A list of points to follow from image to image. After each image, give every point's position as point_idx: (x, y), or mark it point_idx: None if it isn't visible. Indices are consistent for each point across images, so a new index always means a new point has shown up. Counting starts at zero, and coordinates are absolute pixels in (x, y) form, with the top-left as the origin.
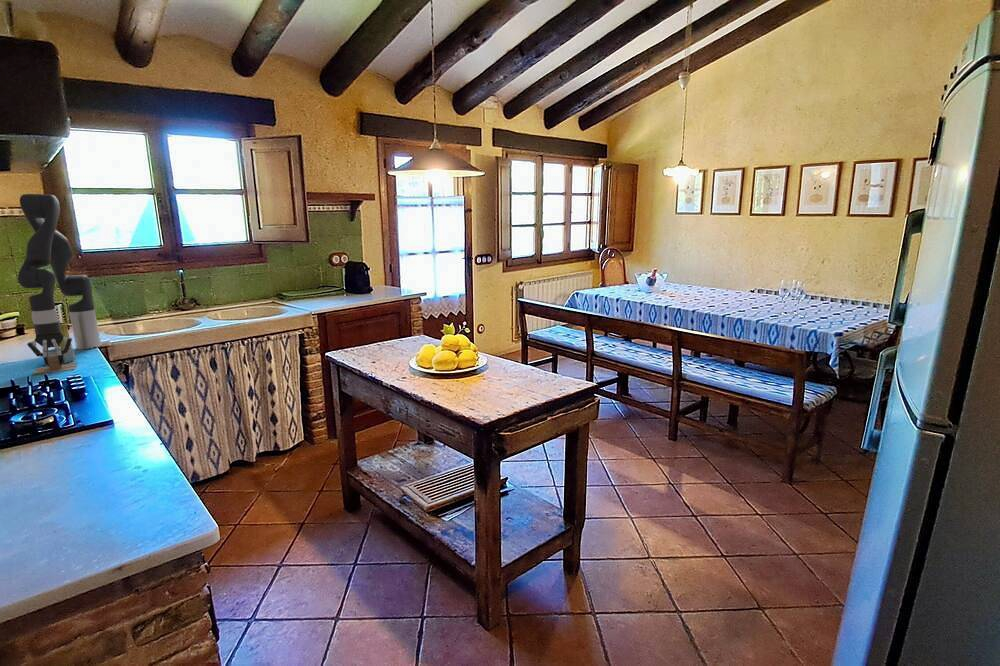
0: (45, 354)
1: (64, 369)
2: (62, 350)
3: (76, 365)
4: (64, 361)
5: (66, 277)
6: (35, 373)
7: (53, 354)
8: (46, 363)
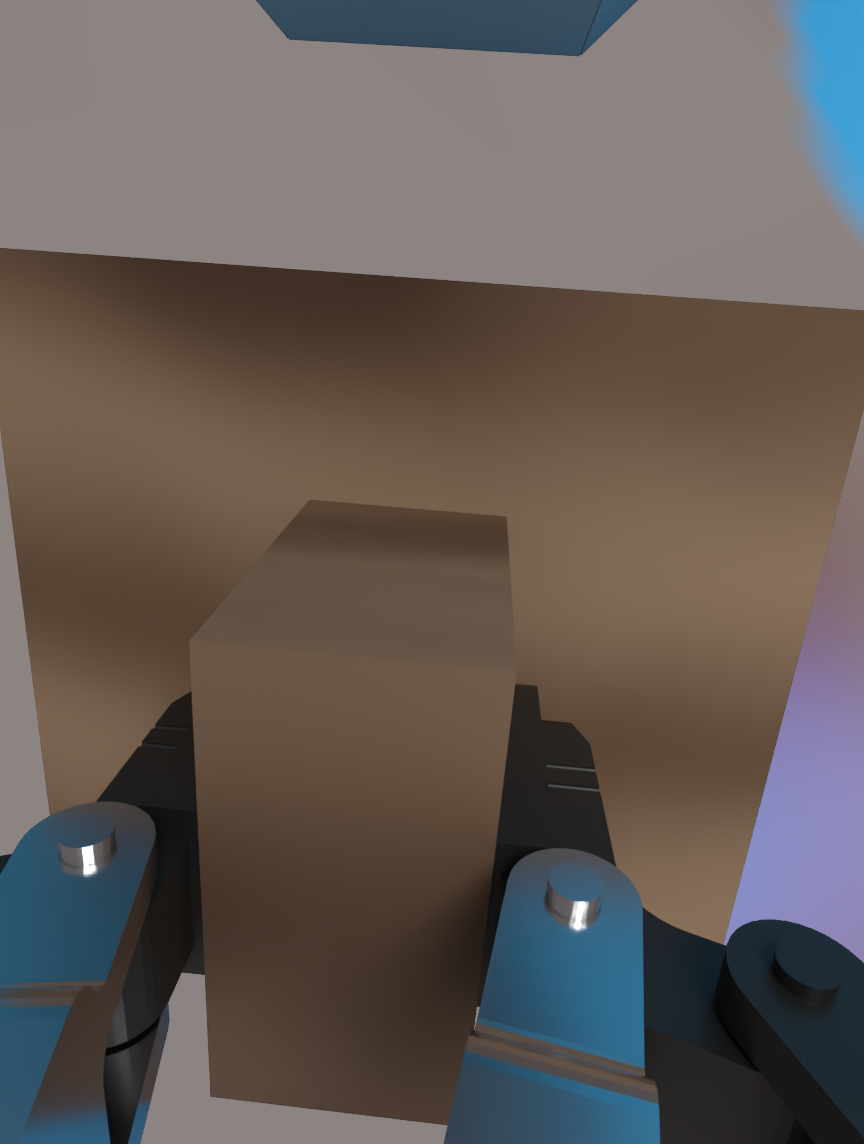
0: (113, 1073)
1: None
2: (665, 1044)
3: (786, 696)
4: (574, 36)
5: None
6: None
7: (313, 650)
8: None
